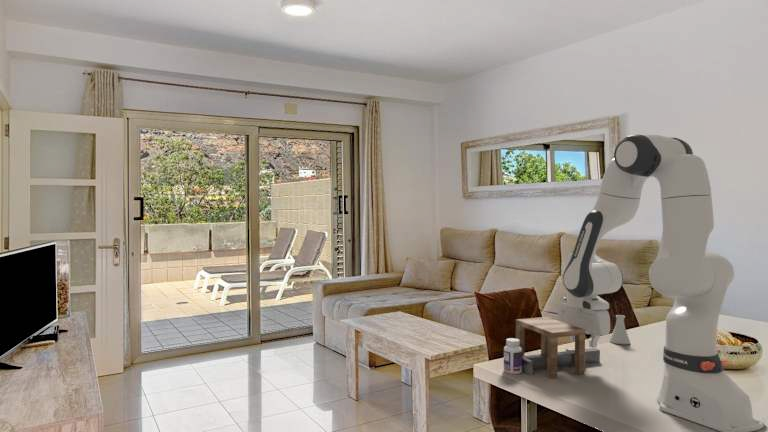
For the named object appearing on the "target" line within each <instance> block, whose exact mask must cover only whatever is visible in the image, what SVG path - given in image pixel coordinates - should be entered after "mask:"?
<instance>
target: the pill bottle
mask: <svg viewBox="0 0 768 432" xmlns="http://www.w3.org/2000/svg"><path fill="white" fill-rule="evenodd" d="M505 340H506V341H505V342H506V343H505V346H504V347H503V372H505V373H507V374H513V375H517V374H521V373H523V372H522V348H521V347H519V345H520V340H519V339H516V337H515V338H514V337H509V338H506V339H505Z"/></svg>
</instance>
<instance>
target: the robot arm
mask: <svg viewBox="0 0 768 432" xmlns="http://www.w3.org/2000/svg"><path fill="white" fill-rule="evenodd" d="M613 152H614V153H613V158H612V159H611V160H610V161H609V162H608V164H607V166H606V169H605V171H604V173H603V175H602V176H603V177H602V180H601V183H600V188H599V192H598V197H597V199H596V201H595V204H594V205H593V207H592V209H591V210H590V212H589V213H587V215H586V216H585V218H584V220H583V221H582V222H583V223H582V225H581V228H580V230H579V233H578V237H577V239H576V242H575V246H574V248H573V251H571V252H570V253H568V256H567V261H566V267H565V269H564V270H563V273H562V283H563V287H565V289H566V296H563V297H561V298H560V299H559V301H558V302H559V304H558V307H557V319H556V320H557V321H561V322H564V323H567V324H570V325H573V326H576V327H579V328H582V329H585V333H590V337H592V338H591V340H589V341H588V346H589V347H590V348H596V349H597V347H598V341H599V339H600V337H601V336H608V335H609V333H610V331H611V317H610V313H609V311H608V310H609V309H610V303H609V302H608V301H606V300H605V299H603V298H602V297H600V296H599V295H604V294H613V293H616V292H618V291H619V290H621V288H622V286H623V283H624V276H623V272H622V270H621V268H620V267H619V266H618V264H616V263H614V262H611V261H608V260H605V259H603V258H601V257H600V256H598V255H597V254H596V253H597V250H598V246H599V244H600V242H601V240H602V239H603V237H604V236H605V235H607V234H608V233H610V232H611V231H613V230H614V229H616V228H619V227H621V226H623V225H626V224H627V223H629V222H631V220H633V219H634V217H635V216H636V215H637V212H638V210H639V208H640V207H639V206H640V202H641V201H640V200H641V196H642V192H643V187H644V184H645V183H646V181H647V179H650V178H655V179H656V180H657V182H658V183H659V188H660V202H661V203H660V204H661V219H662V230H661V231H662V233H661V240H660V245H659V248H658V253H657V255H656V257H655V259H654V261H653V262H652V263H651V264H650V267H649V270H648V279H649V280H648V281H649V282H650V285H651V286H652V288H653V289H654V290H655V291H657V293H659V294H661V295H663V296H666V297H671V298H675V299H674V302H673V304H672V307H671V309H670V310H669V312H668V313H667V315H666V317H665V346H664V347H663V352H662V357H663V359H662V360H663V362H664V366H663V376H662V377H663V378H662V380H661V381H662V383H661V386H660V390H659V393H658V396H657V399H656V400H657V402H658V403H659V410H661V411H662V412H665V413H668V414H671V415H674V416H677V417H680V418H682V419H686V420H688V421H690V422H693V423H696V424H699V425H702V426H704V427H707V428H710V429H713V430H715V431H719V432H755V431H758V430H761V429H763V428H764V427H765V420H764V419H763V418H761V417H759V416H757V415H755V414H753V407H752V403H751V399H750V396H749V395H748V394H747V393H746V392H745V391H744V390H743V389H742V388H741V387H740V386H739V385H738V384H737V383H736V382H735V381H734V380H733V379H732V378H731V377H730V376H729V375H728V374H727V373H726V372H725V368H724V366H728V365H729V364H728V363H727V362H728V360H727V359H725V360H721V358H720V355H719V354H718V353H719V352H718V351H717V350H718V325H719V319H720V318H719V317H720V313H721V311H722V307H723V303H724V299H725V296H726V293H727V290H728V288H729V286H730V285H731V283H732V282H733V280H734V277H735V276H734V275H735V270H734V267H733V265H732V263H731V262H730V260H729V259H728V258H727V257H725V256H723V255H721V254H718V253H716V252H711V251H706V250H707V244H708V240H709V238H710V234H711V233H712V231H713V230H714V227H715V221H714V219H715V218H714V210H713V198H712V197H713V195H712V188H711V182H710V177H709V174H708V169H707V167H706V164H705V161H704V160H703V159H702V158H701V157H700V156H698V155H695V154H693V153H694V152H693V149H692V147H691V145H690V144H689V143H687V142H686V141H684V140H682V139H680V138H679V137H678V138H677V137H668V136H663V135H659V134H637V133H636V134H632V135H628V136H626V137H624V138H622V139H620V140H619V141H618V142H617V144H616V146H615V148H614V151H613ZM567 337H568V340H569V341H571V342H575V336H567Z"/></svg>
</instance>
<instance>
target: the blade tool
mask: <svg viewBox="0 0 768 432" xmlns="http://www.w3.org/2000/svg"><path fill="white" fill-rule="evenodd" d="M600 352H601V349H599V348H597V347H596V348H593V347H590V348H585V365H587V363H589V364H594V363H595V362H597V363H600V362H601V358H600V357H601V356H600V355H601V353H600ZM547 356H548V353H546V354H541V353H538V354H531V355H524V356H522V372H521V373H524V374H526V375H528V376H529V375H530V376H531V375H534V372H535V371H541V370H547ZM572 365H574V366H575V349H572V348H565V351H558V362H557V369H558V368H564V367H565V366H566V367H572Z"/></svg>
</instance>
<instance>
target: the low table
mask: <svg viewBox="0 0 768 432" xmlns="http://www.w3.org/2000/svg"><path fill="white" fill-rule="evenodd" d="M526 329H528V330H530V331H533V332H536V333H538V334H540V354H546V353H548V356H547V369H546V372H547V373H546V375H547V376H546V377H547V378H550V379H553V380H554V379H557V378H558V368H557V362H558V352H559V351H558V350H559V349H558V347H559V344H558V343H559V342H558V341H559V338H565V337H568V336H575V341H574V350H575V365H574V373H575V374H577V375H579V376H581V375H585V373H586V372H585V367H586V364H585V349H586V331H585V329H582V328H579V327H576V326H573V325H570V324H567V323H564V322H561V321H557V319H554V318H551V317H548V316H542V317H539V316H538V317H531V318H530V317H529V318H518V319H515V339H519V340H520V345H519V347H521V348H522V356H525V344H526V343H525V332H526Z"/></svg>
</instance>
